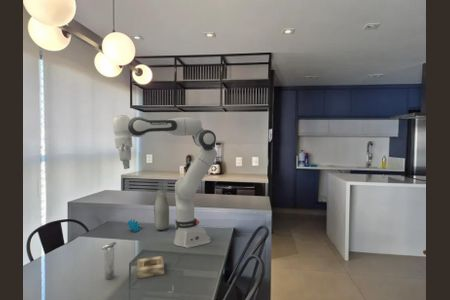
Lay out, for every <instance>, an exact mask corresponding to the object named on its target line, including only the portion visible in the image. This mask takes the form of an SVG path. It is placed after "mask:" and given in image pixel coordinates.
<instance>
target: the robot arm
mask: <svg viewBox="0 0 450 300" xmlns="http://www.w3.org/2000/svg"><path fill="white" fill-rule="evenodd" d="M112 121H113V123H112V125H113V128H112V129H113V133H114V143H115V149H118V151H119V152H118V153H119V160H120V162H122V165H123V169H124V170H128V169H130V166H131V165H130V161H131V160H132V147H133V139H132V138H133V137H134V138H142V137H144V136H145V135H147V133H150V132H151V133H153V132H165V133H169V134H171V135H172V136H179V137H181V136H182V137H184V136H191V137H192V139H193V142H194V144H195V145H196V146H197V147H199V148H200V149H199V153H198V154H197V155H196V157H195V159H194V160H193V161H192V163H190V166H188V168H187V171H186V173H185V174H184V176H183V177H182V178H178V180H176V182H175V184H174V197H175V217H176V219H175V222H174V223H175V226H174V227H175V233H174V234H175V236H174V238H173V239H174V240H173V245H176V246H177V247H183V248H185V249H186V248H187V249H188V248H193V247H197V246H198V247H199V246H202V245H208V244H210V243H211V237H210V236H209V235H208V234H207V231H206V230H205V228H204V227H203V226H201V225H199V224H200V220H198V219H197V218H195V203H194V197H195V196H196V193H197V191H198V190H199V187H200V185H201V183H202V181H203V179H204V178H205V176H206V175H207V173H208V172H209V171H210V169H211V167H212V166H213V165H214V163H215V161H216V159H217V158H218V152H217V150H216V149H215V148H216V142H217V137H216V136H217V135H216V134H215V133H214V131H213V130H210V129H205V128H203V124H202V122H201V120H200V119H199V118H196V117H186V116H184V117H174V118H170V119H146V118H144V117H139V116H135V117H130V116H128V115H125V114H121V115H118V116H116V117H115V118H114V119H113V120H112Z"/></svg>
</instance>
